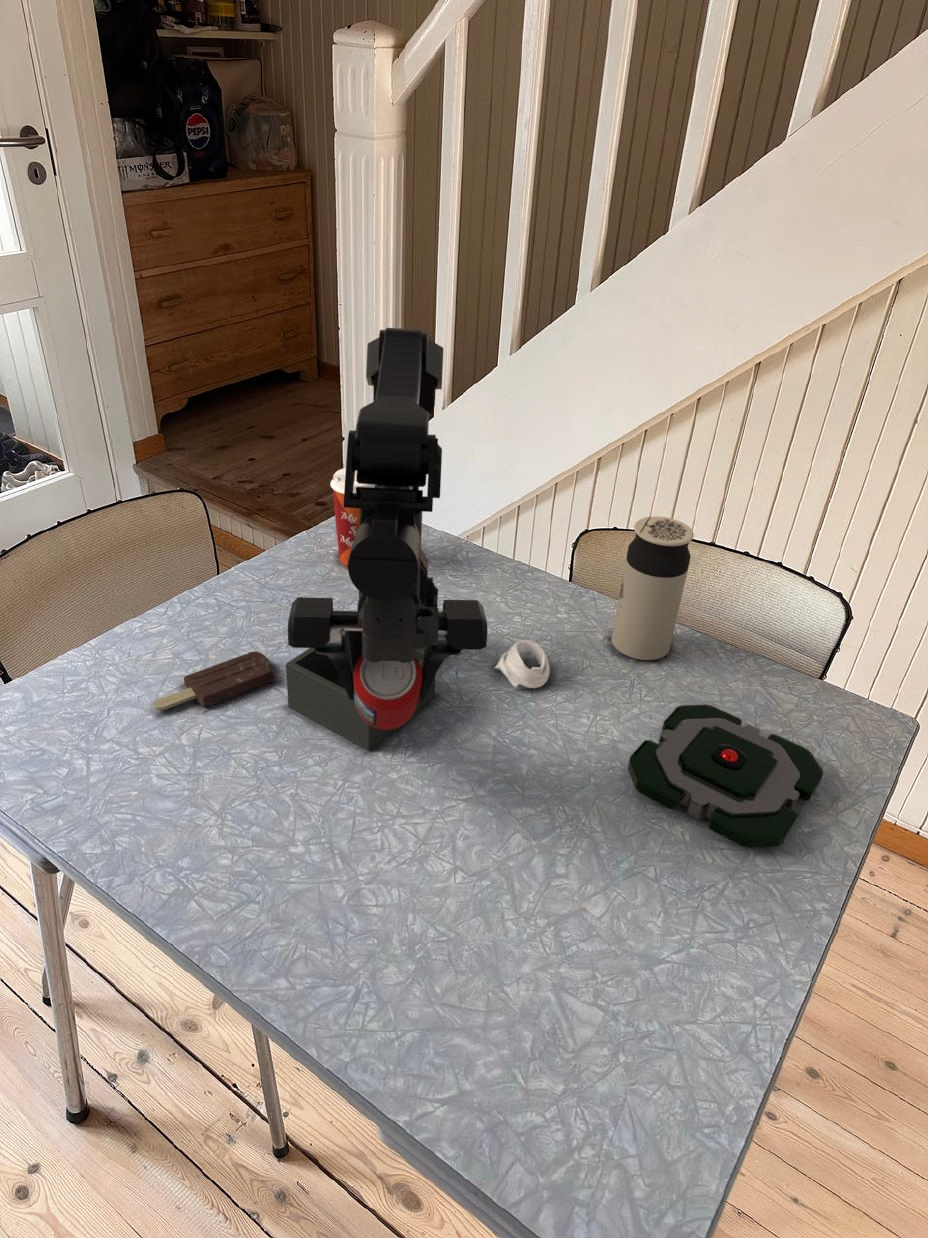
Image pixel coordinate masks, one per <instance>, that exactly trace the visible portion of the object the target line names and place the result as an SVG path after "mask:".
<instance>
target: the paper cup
mask: <svg viewBox="0 0 928 1238" xmlns="http://www.w3.org/2000/svg"><path fill="white" fill-rule="evenodd" d="M345 474H346V467H344V468H340V469H338V470H336V472H335V473H334V474H333V475H332V479H331V480H330V487H331V488H332V493H333V505H334V506H333V507H334V519H335V521H334V522H335V529H336V539H337V547H338V548H337V550H338V557H339V562H340V563H341V564H342V565H344V566H345V567H348V560H349V556H350V553H351V549H352V545H353V542H354V538H355V534H356V532H357V529H358V526H359V508H344V489H345ZM356 487H370V488H374V487H375V485H373V484H359V483H358V482H357V471H355V478H354V487H353V493H356Z"/></svg>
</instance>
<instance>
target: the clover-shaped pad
mask: <svg viewBox="0 0 928 1238" xmlns="http://www.w3.org/2000/svg"><path fill="white" fill-rule="evenodd" d="M742 723H743V721H742V719H741V718H740V717H738V716H736V715H734V714H731V713H730V712H727V711H725V710H722V709H720V708H719V707H716V706H714V705H712V704H711V705H710V704H703V703H702V704H682V705H679V706H676V707H675V709H674V710H673V711H672V712H671V713H670V714H669V716H667V717H666V719H664V721H663V724H662V728H661V732H660V733H659V737H658V742H655V741H653V740H650V739H645V740H644V741H643V742H642V743H641V744H640V745H639V746H638V747H637V748H636V750H634V752H633V753H632V754H631V755H630V756H629V760H628V764H627V771H628V774H629V776H630V778H631V781H632V783H633V786H634V788H635V790H636V791H638V793H640V794H641V795H642V796H645V797H647V798H649V799H651V800H653V801H655V802H656V803H658V804H660V805H662V806H664V807H665V808H667V809H670V810H676V809H677V808H678V806H679V805H683V806H685V807H686V813H687V815H689V816H691V817H693V818H694V819H696V820H700V819H701V820H702V819H703V818H708V821H707V827H708V829H709V830H711V831H713V832H714V833H716V834H718V835H720V836H722V837H724V838H726V839H728V840H730V841H731V842H733V843H735V844H737V845H739V846H741V847H744V848H747V849H755V848H771V847H773V848H774V847H780V846H782V845H784V843H785V841H786V840H787V838H788V837H789V835H790V833H791V832H792V830H793V828H794V826H795V825H796V823H797V820H798V818H799V813H798V812H797V811H796V810H795V809H796V806H797V803H798V801H799V799H800V800H802V801H804V802H810V800H811V799H812V797H813V796H814V794H815V792H816V791H817V789H818V787H819V786H820V785H821V782H822V780H823V777H824V769H823V768H822V767H821V765H820V763H818V761H817V759H816V758H815V756H814V755H813V753H812V752H811V750H809V749H808V748H806V747H805V746H802V745H799V744H798V743H795V742H794V741H791V740H789V739H787V738H785V737H782V736H780V735H778V734H775V733H769V735H768V737H765V736H763V735H761V734H760V733H761V732H760V731H761V730H760V728H758V727H756V726H753V725H752V724H746V725H745V726H742Z"/></svg>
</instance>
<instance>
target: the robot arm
mask: <svg viewBox="0 0 928 1238" xmlns="http://www.w3.org/2000/svg"><path fill="white" fill-rule="evenodd" d="M366 346H367V347H366V367H365V369H366V370H365V378H366V381H367V385H368V386H372V389H373V401H372V402H370V403H368V404H367V405H364V406H363V407H362V408H360V409H359V412H358V416H357V421H356V425H355V430H353V429H349V430H348V435H347V445H346V460H345V468H346V474H345V489H344V508H359V526H358V529H357V532H356V534H355V538H354V542H353V545H352V549H351V553H350V556H349V560H348V566H347V571H348V576H349V579H350V581H351V583H352V585H353V586H354V587H355V589H356V590H358V600H357V610H334V599H333V597H306V596H305V597H299V596H298V597H296V599H295V600H294V601H293V602H292V603H291V606H290V609H289V617H288V620H287V645H288V646H290V647H292V649H293V648H294V649H298V648H299V649H309V648H315V652H316V653H318V654H325V655H327V656H328V657H329V658H331V660H332V661H333V663H334V665H335V666H336V668H337V670H338V672H339V674H340V677H341V679H342V682H343V684H344V687H345V689H346V692H347V694H348V697H349V699H350V700H354V683H353V666H352V657H351V649H350V641H349V632H348V631H362V656H363V658H364V659H365V660H366V661H369V662H379V661H399V662H401V663H407V662H411V661H413V660H414V659H415V657H416V649H424V650H425V652H424V658H423V665H422V684H421V689H420V700H421V701H424V700H425V698H426V695H427V693H428V691H429V689H430V686H431V684H432V682H433V680H434V678H435V679H436V677H435V675H437V673H438V671H439V670H440V668H441V666H443V663H444V662H445V661H446V660H447V659H448V658H450V657H451V656H459V655H460V654H461V653H462V650H470V651H471V650H475V651H477V650H481V651H482V650H483V649H485V648H487V646H488V645H487V642H488V632H489V631H488V621H487V617H486V613H485V609H484V606H483V604H482V603H481V602H480V601H479V600H478V599H443V602H442V609H439V607H438V600H439V588H438V587H437V586H436V584H435V582H434V577H433V576H429V559H428V558H427V556H426V554H425V552H424V551H423V549H422V533H423V512H425V513H433V508H434V507H433V506H434V499H441V483H442V461H443V459H442V458H443V448H442V447H441V445H440V444H439V438H438V437H437V435H436V434H429V426H430V425H429V423H430V421H429V420H430V415H431V413H432V411H433V410H434V408H435V405H436V391H437V390H440V391H441V390H442V389H443V373H444V371H443V369H444V347H443V346H441V345H440V344H438V343H436V342H434V341H433V340H431V339H430V338H429V332H428V331H427V332H426V331H425V332H424V331H423V330H422V329H415V328H399V327H398V328H397V327H386V328H385V329H380V330H379V334H378V337H377V338H375V339H373V340H371V341H369V342H368V343H367V344H366ZM355 471H357V482H358V483H359V484H373V485H375V487H374V488H370V487H356V493H353V487H354V478H355ZM426 485H427V491H426V492H427V493H426V496H425V495H424V490H422V489H420V488H424V487H425V486H426Z"/></svg>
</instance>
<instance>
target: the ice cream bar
mask: <svg viewBox="0 0 928 1238" xmlns="http://www.w3.org/2000/svg"><path fill="white" fill-rule="evenodd" d="M270 664H271V663H270V659H269V658H267V656H266V655H264V653H262V652H260V651H250V652H248V653H245V654H242V655H239V656H236V657H234V658H231V659H228V660H225V661H223V662H219V663H217V664H214V665H212V666H208V667H206V668H204V669H201V670H197V671H195V672H193V673H190V674H187V675H185V676H184V677H183V682H184V683H183V684H184V686H185V687H186V688H185V689H182V690H180V691H177V692H174V693H172V694H169V695H166V696H163V697H161V698H158V699H156V700H155V701H154V702H153V708H154V709H155V710H156V711H165V710H168V709H171V708H173V707H176V706H178V705H182V704H183V703H187V702H188V701H192V700H194V699H195V700H196V701H197V703H198V704H199V705H201V706H202V707H203V708H205V709H206V708H209V707H211V706H214V705H216V704H219V703H221V702H225V701H227V700H229V699H231V698H234V697H236V696H239V695H242V694H244V693H247V692H250V691H252V690H254V689H257V688H260V687H262V686H265V685H268V684H270V683H272V682H274V680H275V674H274V671H273V670H272V669H270V668H271V665H270Z"/></svg>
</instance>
